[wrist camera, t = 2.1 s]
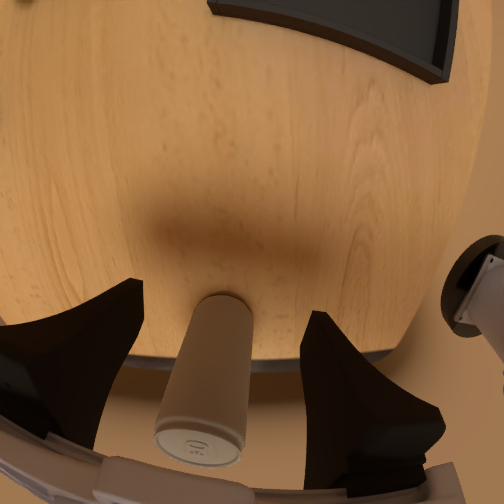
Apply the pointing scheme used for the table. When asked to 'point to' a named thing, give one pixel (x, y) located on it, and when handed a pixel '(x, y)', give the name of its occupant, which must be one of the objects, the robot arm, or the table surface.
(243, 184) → the table surface
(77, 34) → the table surface
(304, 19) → the tray
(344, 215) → the table surface
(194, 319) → the beverage can
